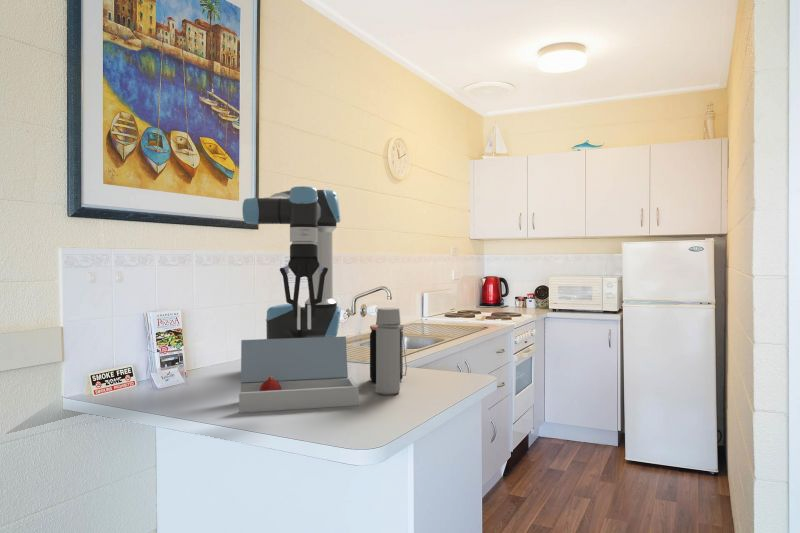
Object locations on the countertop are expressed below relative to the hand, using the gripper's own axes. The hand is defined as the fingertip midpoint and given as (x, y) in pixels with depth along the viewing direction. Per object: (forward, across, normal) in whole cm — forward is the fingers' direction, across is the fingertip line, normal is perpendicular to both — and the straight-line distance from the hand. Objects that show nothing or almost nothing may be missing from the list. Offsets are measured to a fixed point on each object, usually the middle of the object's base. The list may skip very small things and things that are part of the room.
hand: (304, 328), depth 153 cm
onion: (+21, -9, 0) cm, 23 cm away
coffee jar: (+21, +28, +22) cm, 41 cm away
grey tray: (+20, -2, 0) cm, 21 cm away
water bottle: (+21, +26, +6) cm, 34 cm away
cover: (+15, -2, +6) cm, 16 cm away
